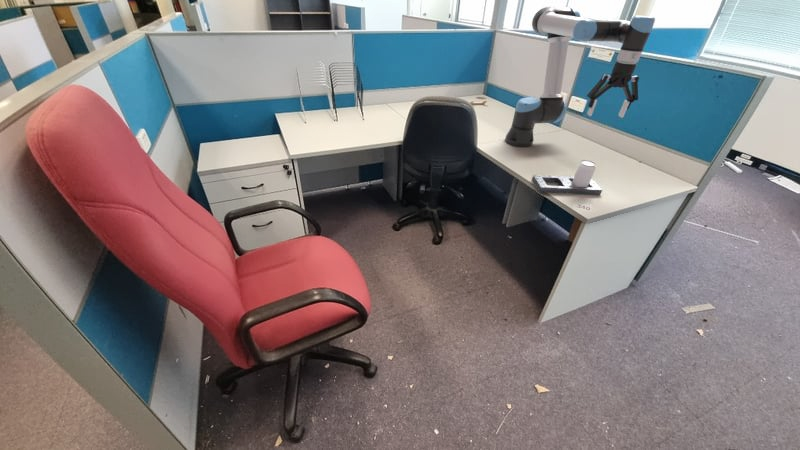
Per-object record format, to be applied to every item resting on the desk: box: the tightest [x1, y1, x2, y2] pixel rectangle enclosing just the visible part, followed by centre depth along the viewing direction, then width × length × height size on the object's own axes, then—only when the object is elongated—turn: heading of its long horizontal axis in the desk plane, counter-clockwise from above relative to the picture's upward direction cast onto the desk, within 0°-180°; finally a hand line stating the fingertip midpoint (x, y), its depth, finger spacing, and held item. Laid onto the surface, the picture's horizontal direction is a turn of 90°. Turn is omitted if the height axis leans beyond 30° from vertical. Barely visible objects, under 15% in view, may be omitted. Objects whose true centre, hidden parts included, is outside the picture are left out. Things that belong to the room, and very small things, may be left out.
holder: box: [531, 174, 603, 196], centre depth 144 cm, size 11×26×2 cm, turn 88°
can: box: [572, 159, 596, 187], centre depth 142 cm, size 6×6×12 cm
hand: (604, 115), depth 143 cm, fingers open, 13 cm apart
